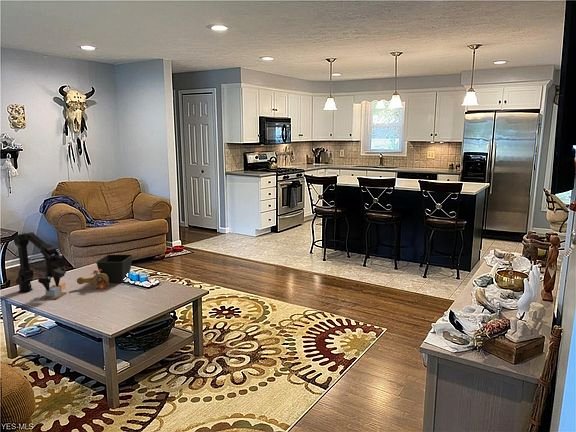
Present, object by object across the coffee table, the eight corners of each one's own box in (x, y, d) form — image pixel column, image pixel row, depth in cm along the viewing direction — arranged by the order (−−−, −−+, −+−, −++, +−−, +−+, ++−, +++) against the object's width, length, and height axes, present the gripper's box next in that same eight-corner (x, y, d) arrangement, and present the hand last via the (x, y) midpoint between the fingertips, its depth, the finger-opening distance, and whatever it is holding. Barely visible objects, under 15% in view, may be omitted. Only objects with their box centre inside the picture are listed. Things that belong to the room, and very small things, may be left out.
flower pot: (97, 284, 305) (95, 261, 302) (109, 275, 323) (107, 254, 320) (123, 284, 304) (122, 262, 301) (134, 276, 323) (132, 254, 320)
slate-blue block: (46, 296, 279) (45, 289, 278) (52, 293, 285) (51, 286, 284) (54, 296, 279) (54, 290, 278) (60, 293, 284) (59, 286, 284)
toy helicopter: (107, 290, 294) (105, 270, 291) (75, 291, 292) (73, 271, 289) (110, 285, 302) (109, 267, 299) (80, 286, 300) (78, 268, 297)
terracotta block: (52, 291, 291) (51, 285, 290) (57, 288, 297) (56, 282, 296) (61, 291, 291) (60, 285, 290) (65, 288, 297) (65, 282, 296)
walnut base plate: (40, 299, 277) (40, 297, 277) (51, 292, 288) (51, 291, 288) (56, 299, 276) (56, 298, 276) (66, 293, 287) (66, 292, 287)
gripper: (53, 270, 268) (55, 294, 271) (70, 261, 286) (73, 284, 289) (36, 269, 269) (39, 293, 272) (55, 261, 288) (57, 283, 290)
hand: (52, 288), depth 281 cm, fingers open, 9 cm apart
